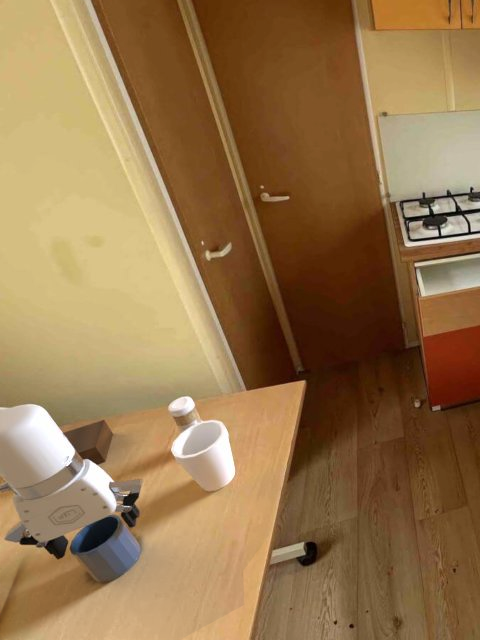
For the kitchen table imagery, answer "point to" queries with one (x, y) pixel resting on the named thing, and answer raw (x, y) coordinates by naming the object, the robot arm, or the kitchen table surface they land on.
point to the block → (91, 441)
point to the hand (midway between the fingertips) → (100, 535)
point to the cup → (105, 548)
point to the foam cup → (206, 454)
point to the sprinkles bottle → (184, 413)
